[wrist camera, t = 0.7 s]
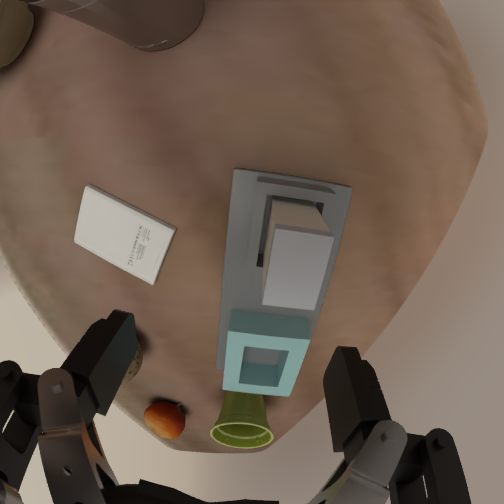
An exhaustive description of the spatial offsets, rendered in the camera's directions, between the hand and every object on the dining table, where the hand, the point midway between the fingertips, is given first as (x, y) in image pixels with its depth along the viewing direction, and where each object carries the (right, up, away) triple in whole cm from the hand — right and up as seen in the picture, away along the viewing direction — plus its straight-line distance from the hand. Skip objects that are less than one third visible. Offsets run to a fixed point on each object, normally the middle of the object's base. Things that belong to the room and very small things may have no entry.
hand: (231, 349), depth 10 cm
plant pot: (0, -20, +32) cm, 37 cm away
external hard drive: (-15, +6, +21) cm, 27 cm away
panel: (+3, -1, +23) cm, 23 cm away
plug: (+4, +6, +18) cm, 20 cm away
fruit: (-15, -26, +35) cm, 47 cm away
